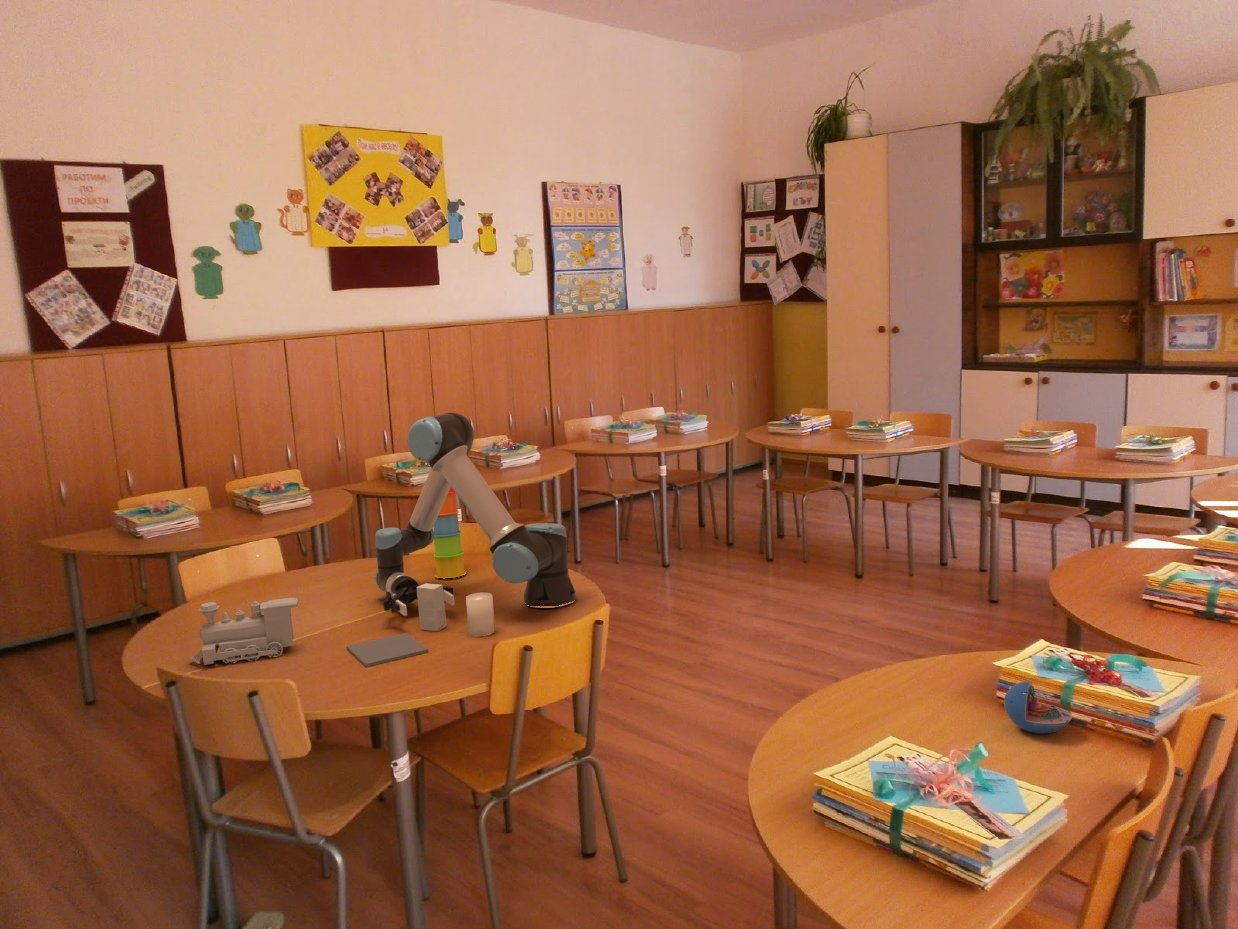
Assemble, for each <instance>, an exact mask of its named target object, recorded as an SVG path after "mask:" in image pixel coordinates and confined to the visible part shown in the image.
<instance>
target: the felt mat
mask: <svg viewBox="0 0 1238 929" xmlns="http://www.w3.org/2000/svg"><path fill="white" fill-rule="evenodd" d="M346 650H347V651H348V652H349V653H350V654H351V655H353V656H354V657H355V658H356V659H357V660H358V661H359V662H360V663H361V664H362V665H363V666H364V667H365V668H369V667H372V666H377V665H381V664H382V665H383V664H385V663H388V662H389V661H390V662H393V661H398V660H402V659H406V658H405V657H407V658H410V657H414V656H418V655H422V654H427V653H429V649H428V648H427V647H425V646H424V645H423V644H422V643H420V642H419V641H417V639H415V638H414V637H413V636H411V635H410V634H408V633H407V632H404V633H399V634H394V635H391V636H385V637H381V638H376V639H373V640H372V639H371V640H368V641H363V642H360V643H359V642H358V643H355V644H352V645H347V646H346ZM397 659H398V660H397Z"/></svg>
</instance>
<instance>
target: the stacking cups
mask: <svg viewBox="0 0 1238 929" xmlns="http://www.w3.org/2000/svg"><path fill="white" fill-rule="evenodd" d="M456 499H457V498H456V492H455V491H454V490H453V488H452V487H450V490H449V492H448V494H447V497H446V499H445V501H444V503H443V506H442V508H441V510H440V513H439V515H438V517H437V519H436V522H435V524H434V526H433V530H434V540H433V543H434V554H433V557H434V558H435V570H436V574H434V578H435V579H438V578H443V579H442V580H446V579H445V578H453V579H457V578H456V577H458V578H460V577H459V576H462V575H464V576H465V574H466V572H467V570H465V565H464V553H465V552H464V550H462V541H461V540H462V538H461V534H462V531H461V530H460V527H459V517H458V515H459V514H458V513H459V510H458V508H457V500H456ZM464 571H465V574H464ZM436 575H437V576H436ZM466 575H467V574H466ZM462 577H463V576H462Z"/></svg>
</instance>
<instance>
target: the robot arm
mask: <svg viewBox="0 0 1238 929" xmlns="http://www.w3.org/2000/svg"><path fill="white" fill-rule="evenodd" d="M474 432H475V431H474V427H473V425H472V423H471V421H470V420H469V419H468V418H467V417H466V416H465V415H463V414H461V413H458V412H446V413H443V414H442V413H441V414H439V415H438V414H437V415H433V416H426V417H423V418H421V419H418V420H416V421H415V422H414V423H413V424H412V425H411V427H410V428H409V430H408V433H407V447H408V450H409V452H410V454H411V455H412V457H414V459H416V460H418V461H421V462H424V463H425V462H427V464H428V466H429V467H430V470H429V473H428V475H427V478H426V480H425V481H424V485H423V487H422V490H421V492H420V494H419V497H418V499H417V502H416V504H415V506H414V508H413V512H412V513H411V516H410V517H409V521H408V523H407V526H406V527H405V528H404V529H400V528H398V527H385V528H380V529H377V530H376V532H375V544H374V545H375V550H376V551H375V552H376V562H377V570H376V573H375V575H374V581H375V584H376V585H377V587H378V588H379V589H380V590H381V591H383V592H384V593H385V598H384V599H383V610H384V612H387V611H389V610H390V609H391V613H396V612H398V613H400V614H402V616H404V617H407V616H408V610H407V604H410V603H413V602H414V601H418V598H417V587H418V586H420V584H419V582H418V581H416V579H414V578H412V577H411V576H410V575H408V574H406V573H405V566H404V564H405V563H404V557H405V556H408V555H409V554H412V553H414V552H418V551H419V550H423V549H425V548H427V547H428V546H430V545H432V543H434V524H435V522H436V519H437V517H438V515H439V513H440V510H441V508H442V506H443V503H444V501H445V499H446V497H447V494H448V492H449V490H450V487H452V488H453V490H454V491H455V495H457V497H458V498H459V499H460V501H461V502H462V504H464V507H465V508H466V509H467V511H468V512H469V513H470V514H471V516H472V517H473V519H474V521H475V522H476V523H477V524H478V526H479V527H480V529H481V530H482V531H483V533H484V534H485V535H486V537H487V539H488V540H489V551H490V552H491V555H492V557H491V558H492V559H491V560H492V568H493V570H494V572H495V573H496V575H497V576H498V577H499V578H500V579H501V580H503V581H504V582H507V583H509V584H522V583H525V582H526V585H525V588H524V594H523V603H524V602H525V603H526V604H527V605H529V606H540V607H541V606H559V605H562V604H566V603H569V602H572V601H574V600H575V599H576V600H577V595H576V594H577V593H576V589H575V587H574V585H573V582H572V579H571V577H570V575H569V562H568V561H569V558H568V541H567V540H568V535H567V530H566V527H565V526H564V525H563V524H561V523H549V522H543V523H541V522H540V523H538V522H537V523H529V524H526V526H525V524H524V523H518V522H515V520H514V519H513V517H512V515H511V514H510V513H509V512H508V510H507V508H505V506H504V505H503V503H502V502H501V500H500V498H498V496H497V495H496V494H495V492H494V491H493V489H492V488H491V486H490V485H489V484H488V483H487V481H486V480H485V478H484V477H483V476H482V474H481V473H480V471H479V470H478V469H477V467H476V466H475V464H474V463H473V462H472V460H471V459H470V458H469V455H470V453H471V450H472V447H473V444H474V437H475V435H474V434H475V433H474ZM443 593H444V602H446V603H447V604H449V605H451V606H455V605H456V604H455V594H454V593H455V592H454V587H451V586H444V585H443Z"/></svg>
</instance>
